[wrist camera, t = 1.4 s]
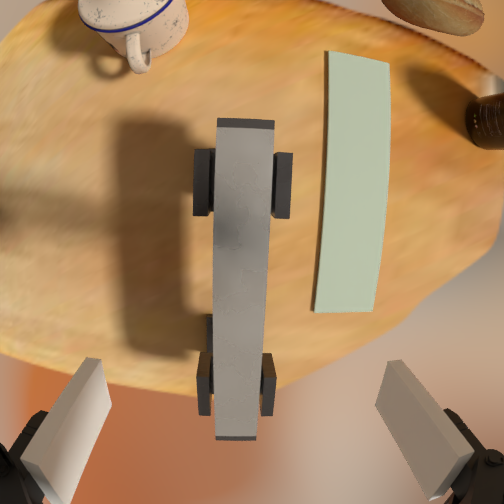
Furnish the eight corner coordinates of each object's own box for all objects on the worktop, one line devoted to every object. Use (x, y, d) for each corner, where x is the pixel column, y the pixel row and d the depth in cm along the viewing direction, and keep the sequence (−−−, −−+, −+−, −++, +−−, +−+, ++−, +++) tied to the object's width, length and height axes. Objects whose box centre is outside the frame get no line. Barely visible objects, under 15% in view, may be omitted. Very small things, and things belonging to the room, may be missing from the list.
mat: (313, 311, 34) (314, 312, 34) (327, 51, 28) (329, 50, 27) (371, 309, 35) (372, 311, 34) (387, 64, 28) (389, 63, 28)
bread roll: (475, 50, 28) (513, 36, 20) (387, 38, 27) (422, 12, 20) (454, -7, 25) (485, -27, 17) (364, -25, 25) (390, -58, 17)
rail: (217, 408, 28) (215, 440, 24) (219, 128, 23) (217, 117, 18) (252, 408, 29) (256, 440, 24) (266, 130, 23) (274, 120, 18)
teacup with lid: (109, 6, 25) (69, -45, 13) (188, -13, 25) (174, -77, 13) (111, 97, 27) (57, 66, 16) (198, 78, 28) (180, 30, 16)
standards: (206, 361, 35) (199, 421, 25) (207, 149, 30) (195, 137, 20) (261, 362, 35) (271, 422, 25) (273, 151, 30) (293, 141, 20)
